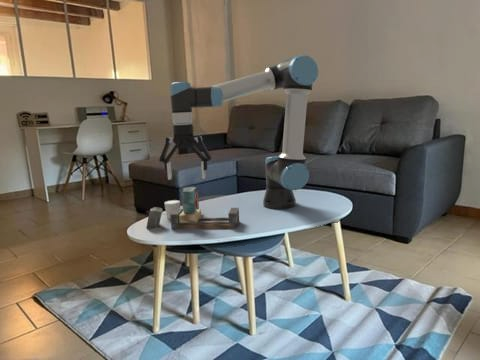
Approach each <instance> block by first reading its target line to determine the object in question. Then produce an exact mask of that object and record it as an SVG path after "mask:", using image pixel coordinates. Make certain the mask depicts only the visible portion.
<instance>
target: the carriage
mask: <svg viewBox="0 0 480 360" xmlns="http://www.w3.org/2000/svg"><path fill="white" fill-rule="evenodd" d="M182 195H183V203H182V208H183V207H184V211H183V212H182V213H181V214H180V215H179V221H180V223H196V222H198V221H199V219H200V218H203V217H202V209H201V208H199V209H196V200H195V189H185V190H184V191H183V190H182V191H181V196H182Z"/></svg>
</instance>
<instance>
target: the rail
mask: <svg viewBox="0 0 480 360" xmlns="http://www.w3.org/2000/svg"><path fill="white" fill-rule="evenodd" d="M239 209H240V207H230V210H229V211H228V214H227V215H228V217H227V216H226V217H223V216H222V217H201V218H200V219H199V221H198V222H196V223H180V221H179V215H180V214H181V213H182V212H183V208H180V209H175V210H174V211H173V212H172V213H171V214H170V217H171V219H170V226H171V230H208V229H209V230H210V229H211V230H217V229H219V230H221V229H223V230H224V229H238V227H239V224H240V210H239Z"/></svg>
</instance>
